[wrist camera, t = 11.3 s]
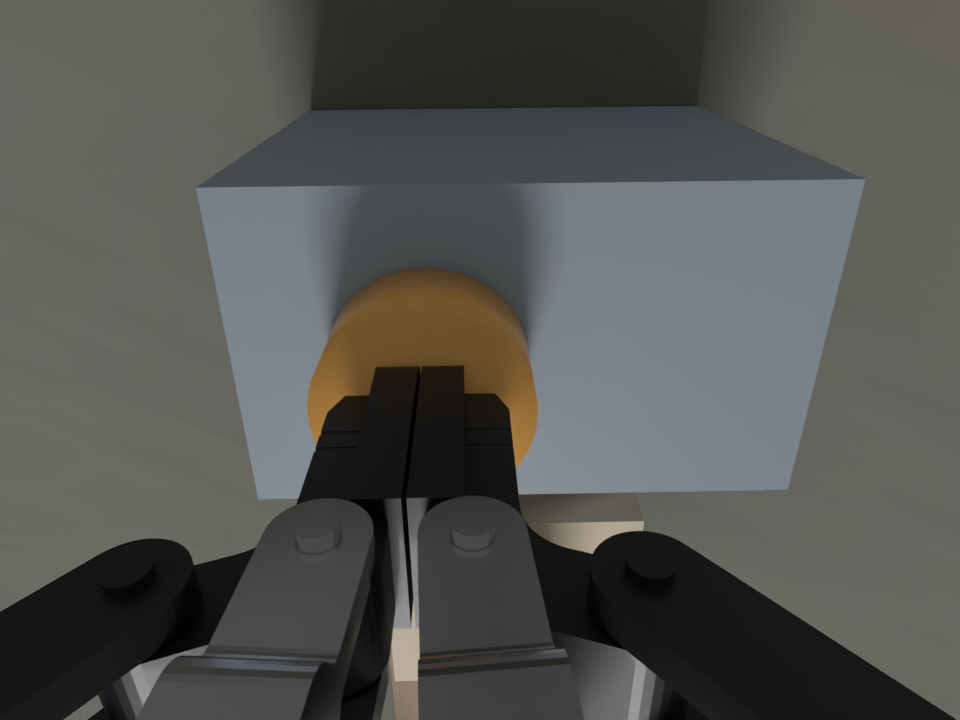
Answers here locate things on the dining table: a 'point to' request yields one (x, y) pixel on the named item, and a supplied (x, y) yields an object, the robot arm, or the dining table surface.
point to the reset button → (428, 344)
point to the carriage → (558, 521)
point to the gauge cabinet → (550, 277)
